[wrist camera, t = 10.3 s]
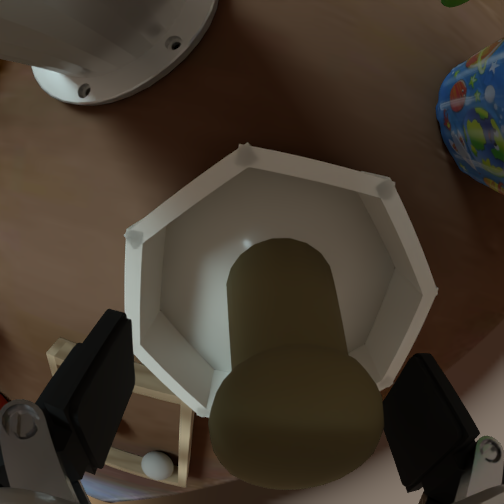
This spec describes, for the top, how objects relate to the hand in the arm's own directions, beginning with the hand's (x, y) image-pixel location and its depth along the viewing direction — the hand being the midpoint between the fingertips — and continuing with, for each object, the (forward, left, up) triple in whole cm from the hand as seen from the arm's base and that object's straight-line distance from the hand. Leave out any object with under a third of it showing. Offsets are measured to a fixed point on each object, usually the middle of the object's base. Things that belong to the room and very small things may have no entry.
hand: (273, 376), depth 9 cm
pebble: (+22, -6, -9) cm, 24 cm away
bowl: (+1, +1, -9) cm, 9 cm away
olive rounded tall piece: (+1, +1, -8) cm, 8 cm away
